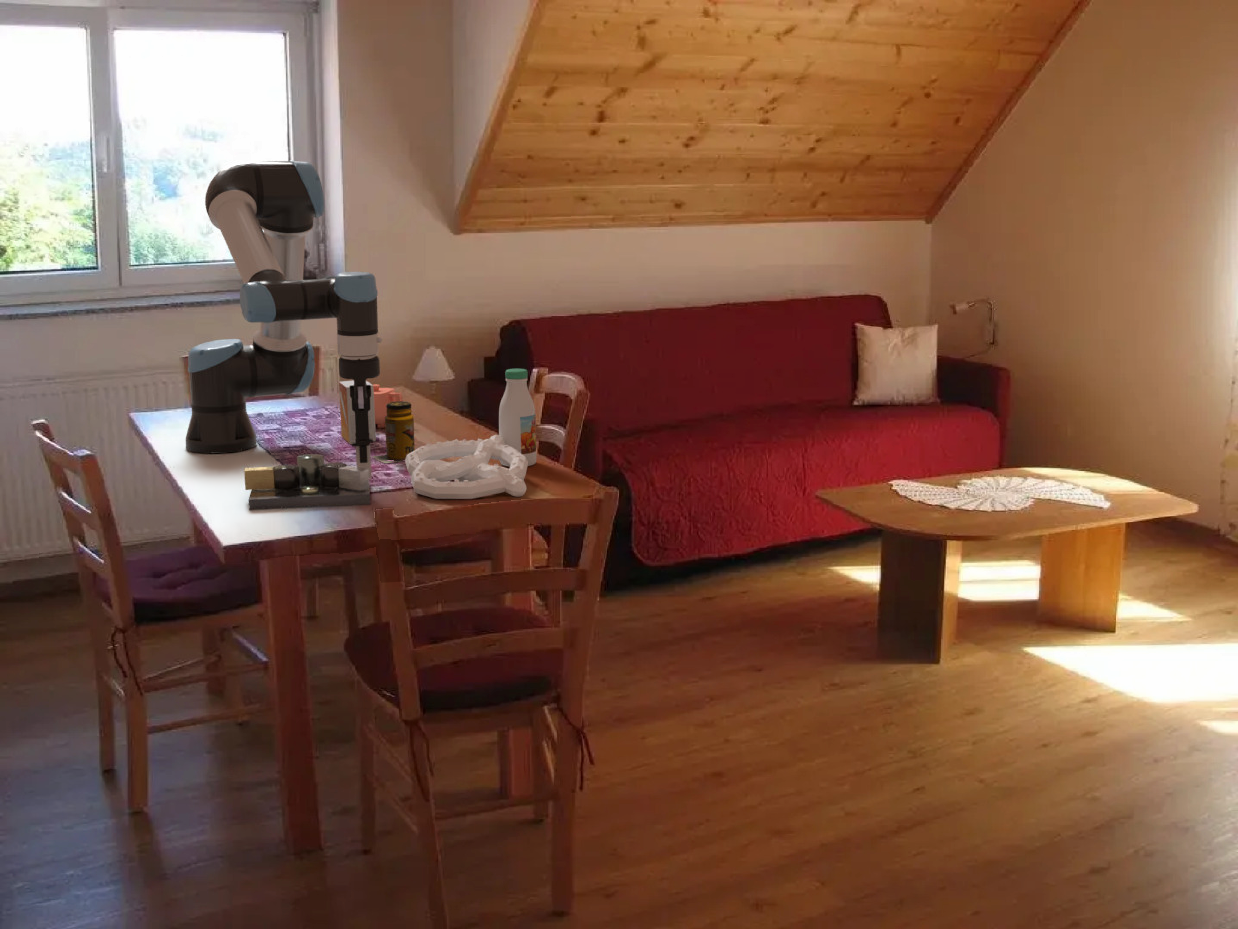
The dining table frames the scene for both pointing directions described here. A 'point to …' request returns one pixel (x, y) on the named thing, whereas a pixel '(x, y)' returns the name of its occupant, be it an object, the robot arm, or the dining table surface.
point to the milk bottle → (518, 416)
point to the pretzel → (467, 469)
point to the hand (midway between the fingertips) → (364, 477)
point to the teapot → (383, 403)
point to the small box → (349, 415)
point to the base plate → (307, 490)
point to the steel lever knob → (344, 476)
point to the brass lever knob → (272, 477)
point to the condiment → (398, 432)
